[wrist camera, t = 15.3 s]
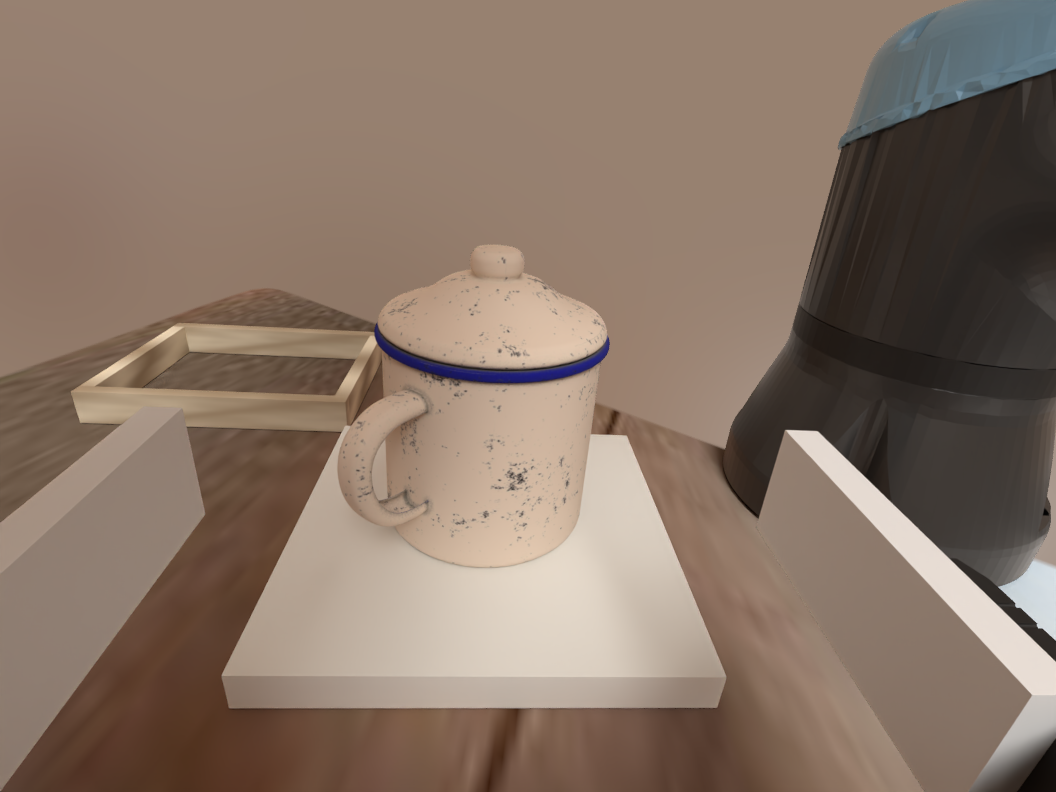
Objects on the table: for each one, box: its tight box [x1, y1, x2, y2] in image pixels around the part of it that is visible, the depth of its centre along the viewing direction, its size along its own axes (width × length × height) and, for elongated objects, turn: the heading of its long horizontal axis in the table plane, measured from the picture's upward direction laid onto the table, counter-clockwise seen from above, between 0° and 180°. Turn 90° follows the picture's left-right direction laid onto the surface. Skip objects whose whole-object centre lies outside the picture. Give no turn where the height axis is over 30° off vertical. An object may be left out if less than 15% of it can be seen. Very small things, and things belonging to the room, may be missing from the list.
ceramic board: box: [221, 426, 727, 708], centre depth 26 cm, size 16×16×2 cm
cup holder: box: [71, 323, 382, 432], centre depth 39 cm, size 12×15×2 cm
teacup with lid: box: [337, 245, 610, 568], centre depth 23 cm, size 12×9×12 cm
